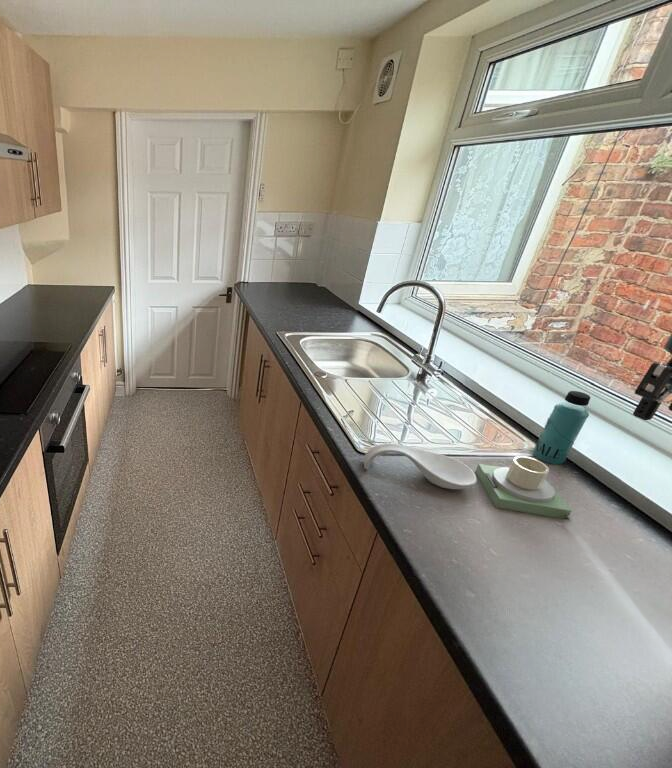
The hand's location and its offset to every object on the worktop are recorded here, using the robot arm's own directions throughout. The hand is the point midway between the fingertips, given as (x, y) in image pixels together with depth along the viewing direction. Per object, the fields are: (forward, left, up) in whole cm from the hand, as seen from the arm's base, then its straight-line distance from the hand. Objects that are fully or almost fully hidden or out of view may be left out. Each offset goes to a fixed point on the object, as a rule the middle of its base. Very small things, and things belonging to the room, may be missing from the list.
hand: (659, 414), depth 74 cm
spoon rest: (+30, -10, -28) cm, 42 cm away
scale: (+9, -9, -28) cm, 31 cm away
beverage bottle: (-3, -25, -28) cm, 38 cm away
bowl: (+9, -9, -25) cm, 28 cm away
